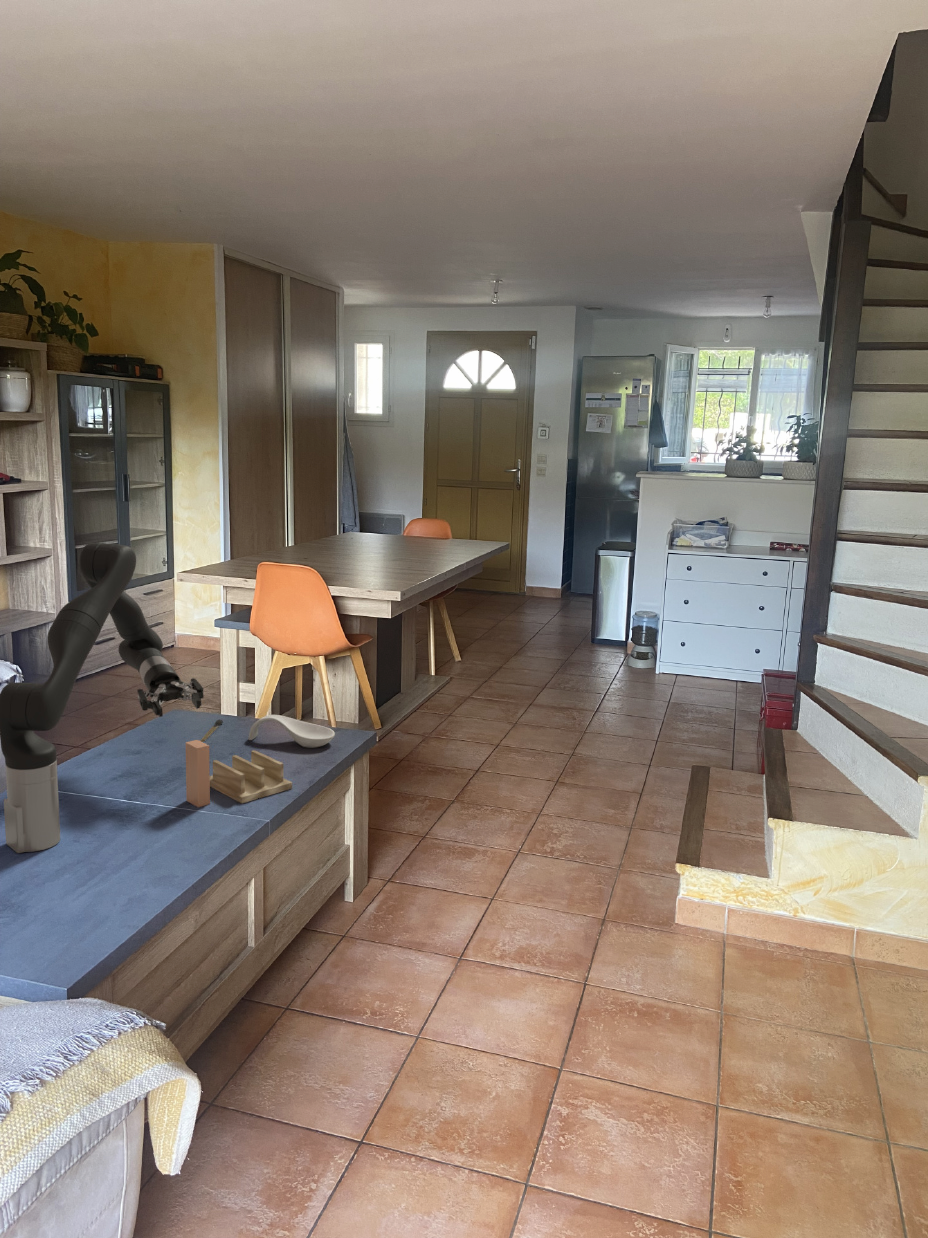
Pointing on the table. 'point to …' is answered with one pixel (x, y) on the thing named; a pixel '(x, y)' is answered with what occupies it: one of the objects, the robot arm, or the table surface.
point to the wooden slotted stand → (249, 777)
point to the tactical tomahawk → (212, 730)
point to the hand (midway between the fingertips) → (180, 709)
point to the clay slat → (197, 773)
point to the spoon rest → (298, 731)
